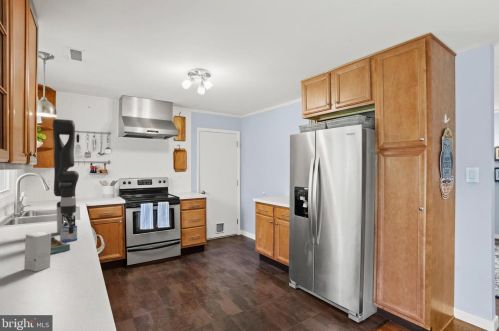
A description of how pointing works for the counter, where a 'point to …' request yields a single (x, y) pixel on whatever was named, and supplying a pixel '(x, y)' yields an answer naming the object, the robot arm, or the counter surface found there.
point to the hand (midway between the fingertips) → (68, 232)
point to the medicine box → (67, 234)
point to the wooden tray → (58, 246)
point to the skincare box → (37, 251)
